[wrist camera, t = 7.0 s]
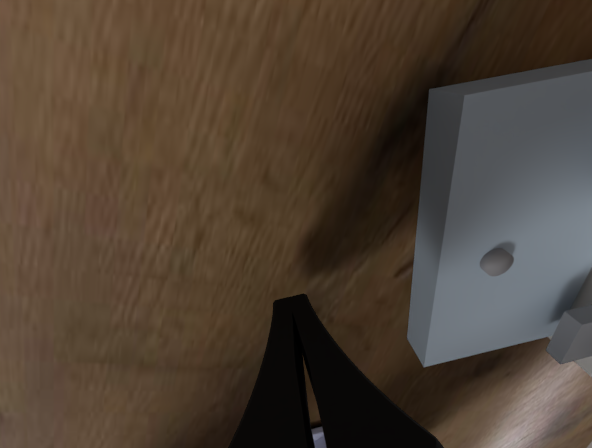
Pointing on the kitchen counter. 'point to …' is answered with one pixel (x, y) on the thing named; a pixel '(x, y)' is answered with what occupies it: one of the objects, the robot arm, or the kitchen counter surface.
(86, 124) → the kitchen counter surface
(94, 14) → the kitchen counter surface
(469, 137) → the door
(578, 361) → the side panel
